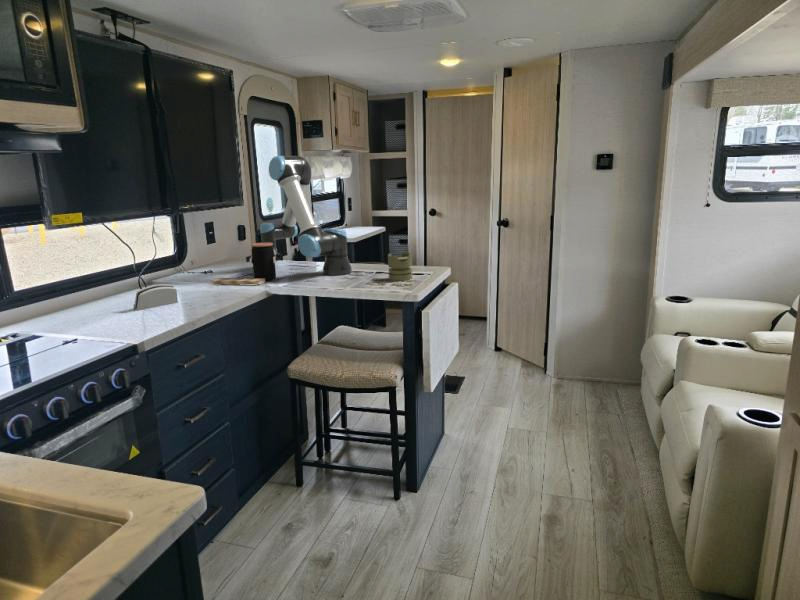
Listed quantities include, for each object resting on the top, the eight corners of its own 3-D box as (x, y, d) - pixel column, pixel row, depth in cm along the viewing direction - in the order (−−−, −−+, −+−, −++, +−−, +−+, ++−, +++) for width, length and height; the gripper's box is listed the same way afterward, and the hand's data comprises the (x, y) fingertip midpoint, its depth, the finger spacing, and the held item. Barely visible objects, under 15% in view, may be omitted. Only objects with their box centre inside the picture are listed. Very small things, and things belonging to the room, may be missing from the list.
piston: (385, 253, 257) (407, 252, 260) (386, 278, 259) (407, 275, 263) (391, 256, 246) (414, 255, 249) (392, 282, 249) (415, 279, 252)
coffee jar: (279, 277, 269) (275, 242, 265) (272, 281, 259) (268, 244, 255) (258, 277, 270) (255, 242, 266) (251, 281, 260) (247, 245, 256)
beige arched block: (173, 300, 225) (173, 280, 221) (178, 306, 223) (179, 285, 218) (132, 308, 213) (132, 287, 209) (137, 314, 211) (137, 292, 206)
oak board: (265, 282, 258) (264, 278, 258) (258, 285, 252) (258, 280, 251) (220, 281, 263) (220, 277, 263) (213, 284, 257) (212, 280, 256)
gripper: (290, 260, 282) (287, 267, 261) (245, 262, 279) (239, 269, 258) (289, 246, 280) (285, 252, 259) (244, 248, 277) (237, 254, 256)
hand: (262, 260), depth 258 cm, fingers closed on coffee jar, 11 cm apart
